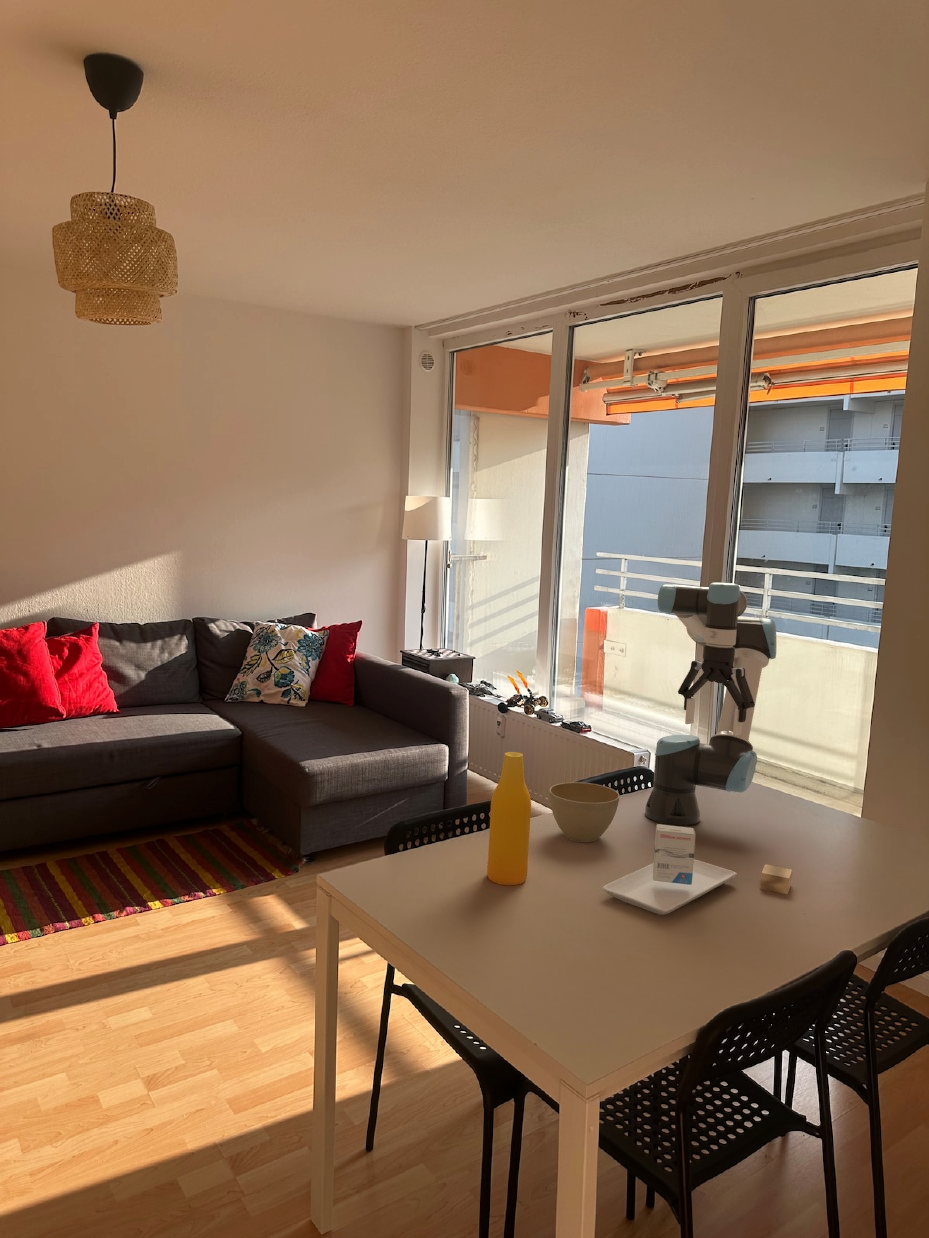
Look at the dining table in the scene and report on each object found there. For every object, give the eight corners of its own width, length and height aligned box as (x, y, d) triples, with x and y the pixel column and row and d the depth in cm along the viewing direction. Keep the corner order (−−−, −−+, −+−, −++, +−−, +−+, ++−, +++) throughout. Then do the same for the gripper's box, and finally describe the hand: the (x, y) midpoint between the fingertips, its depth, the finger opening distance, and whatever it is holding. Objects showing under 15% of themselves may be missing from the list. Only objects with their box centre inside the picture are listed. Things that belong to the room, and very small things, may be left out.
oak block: (760, 889, 204) (761, 872, 204) (763, 880, 210) (765, 864, 209) (787, 895, 202) (789, 878, 201) (790, 886, 207) (792, 869, 207)
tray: (598, 900, 195) (599, 885, 195) (673, 864, 218) (674, 851, 217) (666, 927, 183) (667, 911, 183) (737, 886, 206) (738, 872, 206)
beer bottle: (535, 878, 204) (542, 755, 200) (509, 889, 197) (516, 762, 194) (504, 866, 210) (511, 746, 207) (478, 876, 203) (484, 753, 200)
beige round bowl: (626, 835, 235) (630, 790, 234) (599, 855, 220) (602, 807, 219) (565, 820, 245) (568, 777, 243) (534, 838, 229) (537, 792, 228)
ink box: (690, 877, 202) (694, 826, 200) (691, 885, 197) (695, 834, 196) (652, 872, 203) (655, 822, 202) (652, 880, 198) (656, 830, 197)
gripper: (668, 639, 227) (662, 720, 229) (758, 653, 209) (750, 741, 211) (684, 637, 232) (678, 717, 234) (773, 651, 214) (766, 737, 216)
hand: (712, 729), depth 223 cm, fingers open, 13 cm apart
